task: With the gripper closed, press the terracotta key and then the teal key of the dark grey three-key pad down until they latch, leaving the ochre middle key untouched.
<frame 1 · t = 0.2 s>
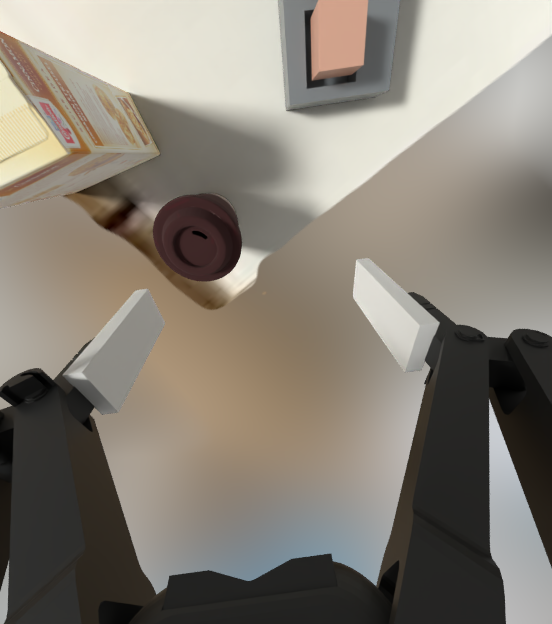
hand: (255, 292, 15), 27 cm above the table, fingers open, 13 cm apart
key 1: (336, 41, 23), point 6 cm above the table, slide at 0.0 cm
coffee cup: (214, 217, 38), on the table
coffeecake box: (99, 147, 31), on the table
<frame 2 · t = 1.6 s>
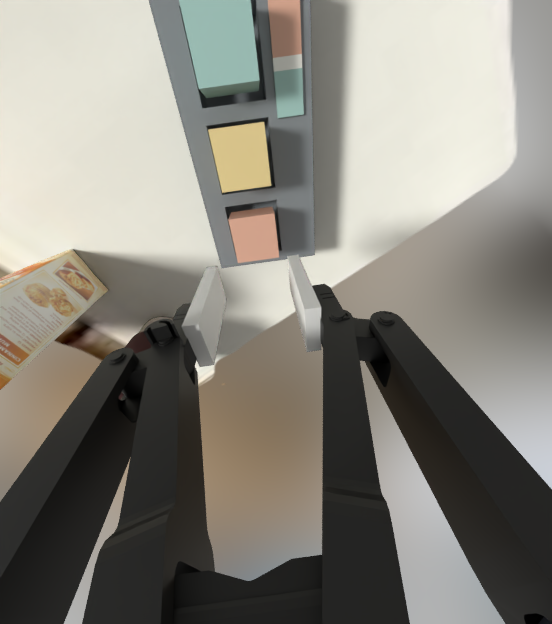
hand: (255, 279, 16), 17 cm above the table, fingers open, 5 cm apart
key 1: (255, 234, 25), point 6 cm above the table, slide at 0.0 cm
keypad board: (253, 157, 26), on the table
coffee cup: (167, 331, 39), on the table
coffeecake box: (50, 286, 33), on the table
key 2: (224, 48, 17), point 6 cm above the table, slide at 0.0 cm
key mid: (242, 159, 21), point 6 cm above the table, slide at 0.0 cm
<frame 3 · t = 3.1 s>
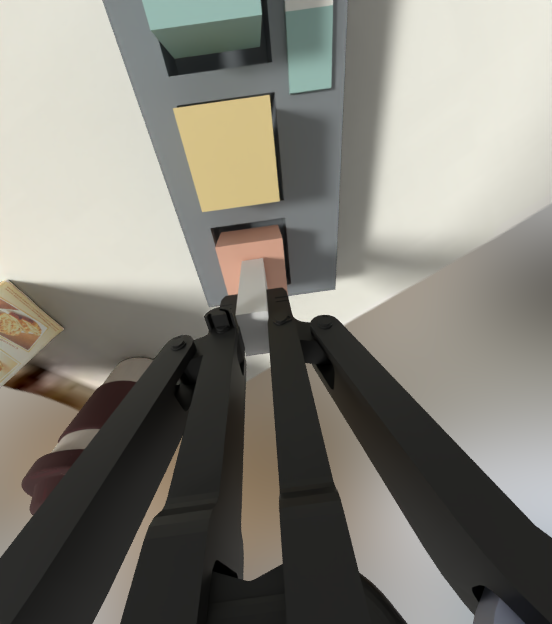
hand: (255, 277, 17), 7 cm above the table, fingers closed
key 1: (254, 263, 18), point 5 cm above the table, slide at 0.8 cm, touching gripper
keypad board: (251, 155, 18), on the table
coffee cup: (145, 373, 32), on the table
key mid: (234, 159, 13), point 6 cm above the table, slide at 0.0 cm
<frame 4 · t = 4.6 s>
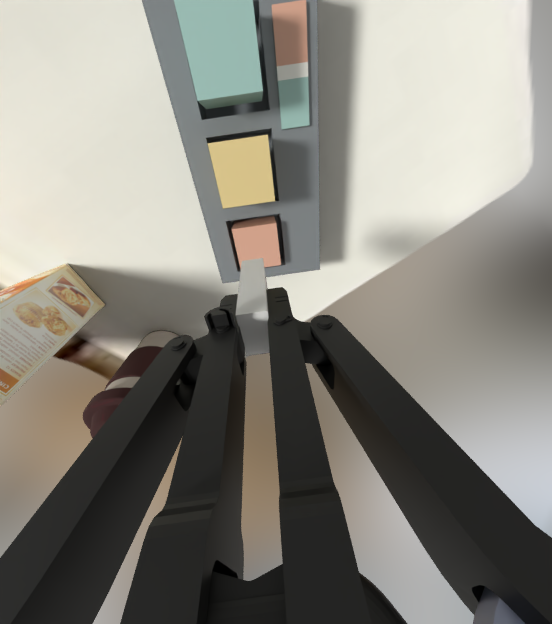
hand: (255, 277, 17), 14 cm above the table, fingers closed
key 1: (257, 243, 26), point 3 cm above the table, slide at 2.4 cm
keypad board: (255, 168, 25), on the table
coffee cup: (166, 345, 38), on the table
coffeecake box: (45, 301, 32), on the table
key 2: (224, 56, 16), point 6 cm above the table, slide at 0.0 cm
key mid: (244, 172, 20), point 6 cm above the table, slide at 0.0 cm
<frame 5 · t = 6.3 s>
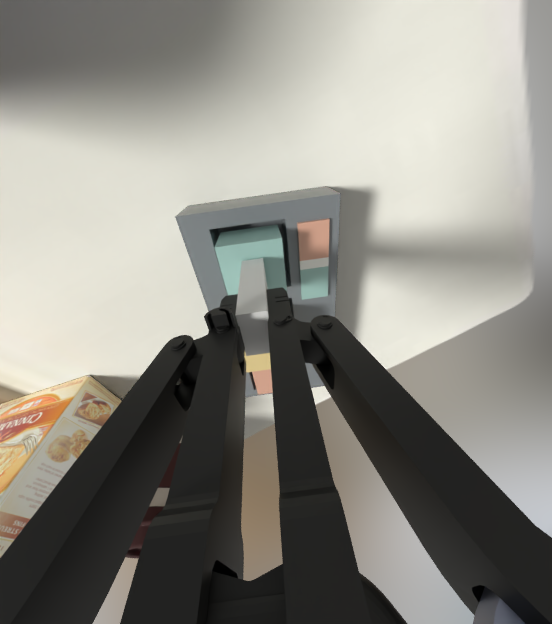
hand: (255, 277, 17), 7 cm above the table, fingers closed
key 1: (273, 367, 27), point 3 cm above the table, slide at 2.4 cm
keypad board: (272, 302, 26), on the table
coffee cup: (180, 427, 40), on the table
coffeecake box: (65, 400, 33), on the table
key 2: (253, 263, 18), point 5 cm above the table, slide at 1.1 cm, touching gripper
key mid: (266, 338, 21), point 6 cm above the table, slide at 0.0 cm
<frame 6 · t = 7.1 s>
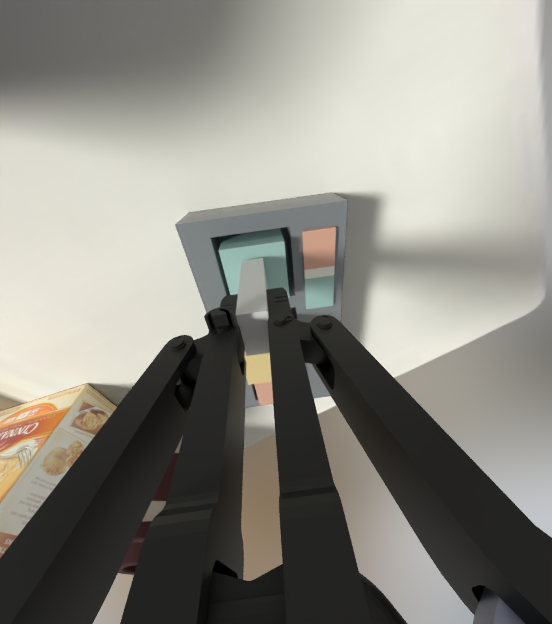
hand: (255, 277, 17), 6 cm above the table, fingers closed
key 1: (276, 377, 26), point 3 cm above the table, slide at 2.4 cm
keypad board: (275, 311, 25), on the table
coffee cup: (180, 435, 39), on the table
coffeecake box: (63, 409, 32), on the table
key 2: (256, 266, 18), point 3 cm above the table, slide at 2.4 cm
key mid: (269, 349, 20), point 6 cm above the table, slide at 0.0 cm
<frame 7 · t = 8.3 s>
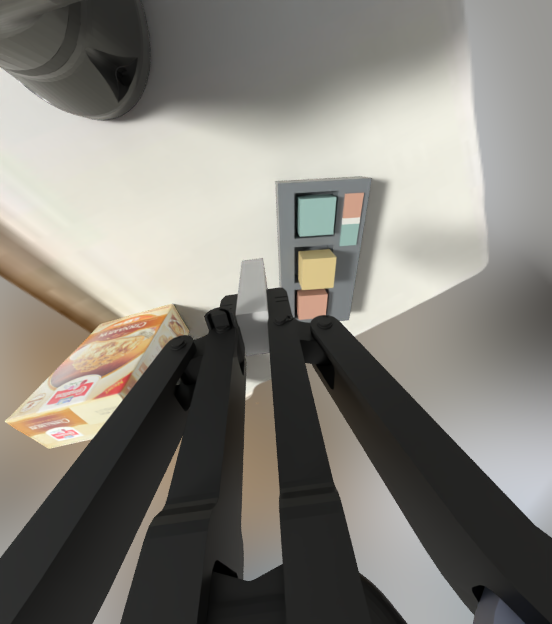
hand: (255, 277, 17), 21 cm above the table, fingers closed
key 1: (310, 302, 39), point 3 cm above the table, slide at 2.4 cm
keypad board: (314, 255, 38), on the table
coffeecake box: (146, 326, 44), on the table
key 2: (314, 215, 31), point 3 cm above the table, slide at 2.4 cm
key mid: (315, 269, 33), point 6 cm above the table, slide at 0.0 cm
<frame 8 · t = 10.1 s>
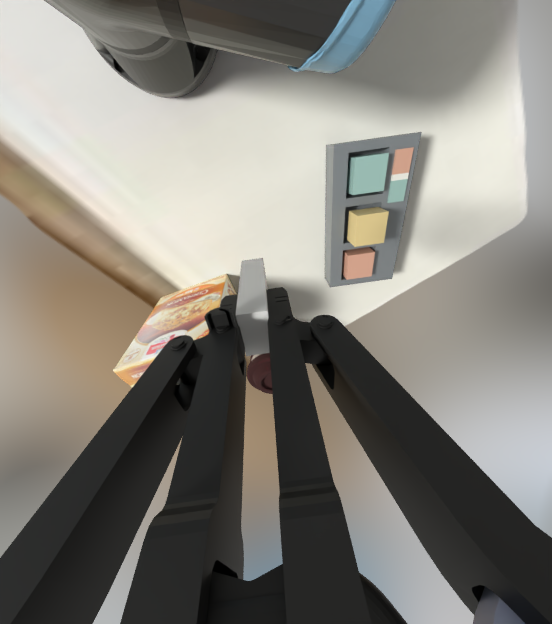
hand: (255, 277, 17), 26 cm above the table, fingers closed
key 1: (356, 262, 42), point 3 cm above the table, slide at 2.4 cm
keypad board: (358, 217, 40), on the table
coffee cup: (269, 330, 54), on the table
coffeecake box: (201, 298, 48), on the table
key 2: (365, 173, 34), point 3 cm above the table, slide at 2.4 cm
key mid: (366, 226, 36), point 6 cm above the table, slide at 0.0 cm
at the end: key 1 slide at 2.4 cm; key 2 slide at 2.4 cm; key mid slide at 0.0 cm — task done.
